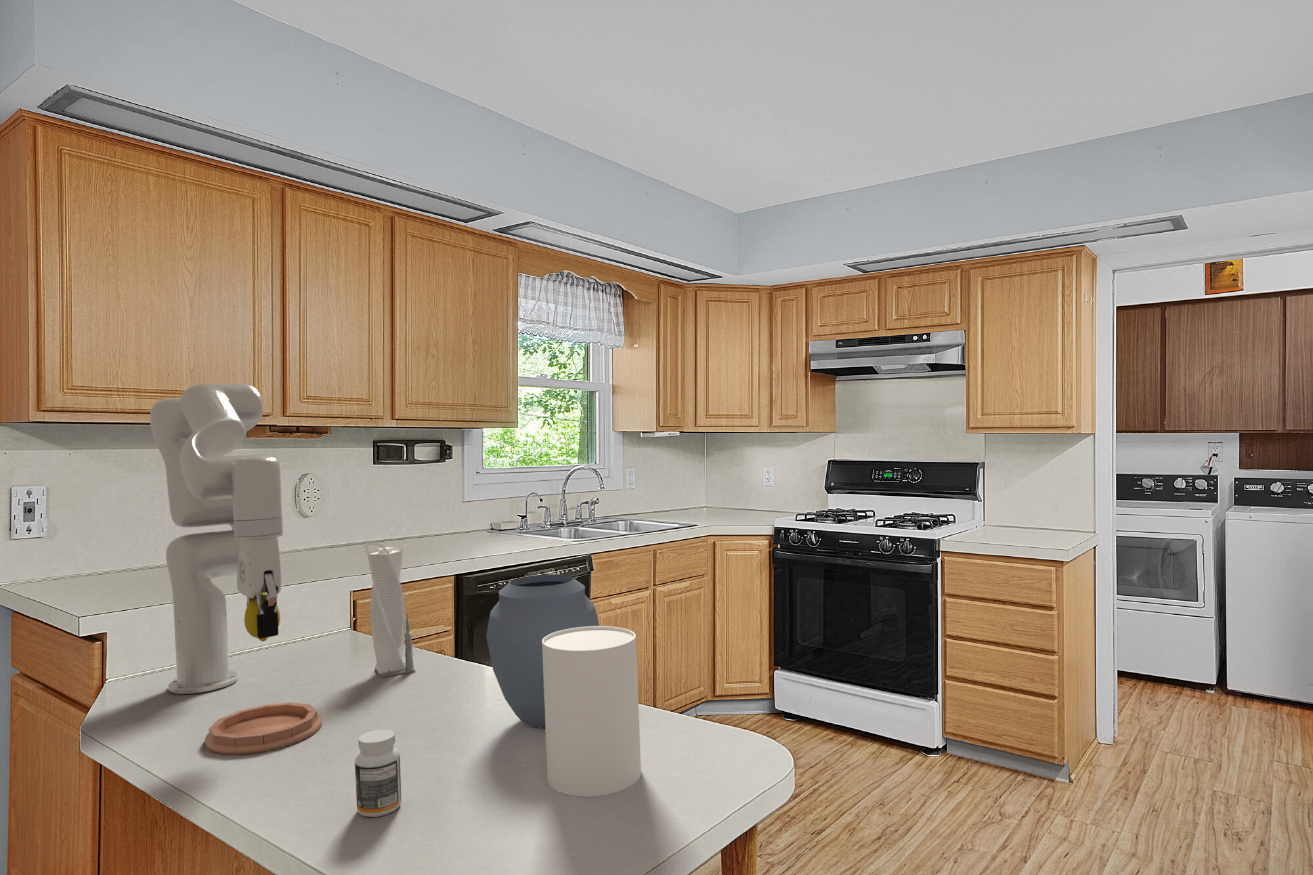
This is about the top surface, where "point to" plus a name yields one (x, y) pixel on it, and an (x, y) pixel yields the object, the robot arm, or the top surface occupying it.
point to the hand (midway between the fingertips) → (262, 632)
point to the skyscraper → (389, 613)
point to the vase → (532, 636)
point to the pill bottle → (377, 774)
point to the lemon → (254, 618)
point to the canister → (591, 710)
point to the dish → (262, 728)
